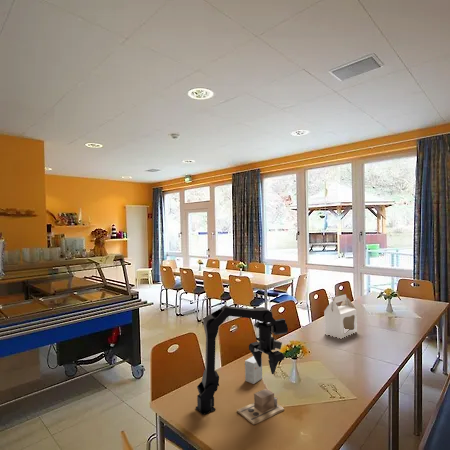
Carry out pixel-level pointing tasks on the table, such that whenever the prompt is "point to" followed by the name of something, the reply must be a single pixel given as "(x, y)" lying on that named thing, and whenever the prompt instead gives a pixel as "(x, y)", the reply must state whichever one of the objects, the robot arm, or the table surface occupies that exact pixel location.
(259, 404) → the upright wooden block
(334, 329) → the gable box
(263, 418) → the guide board
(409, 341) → the table surface
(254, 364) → the small box
